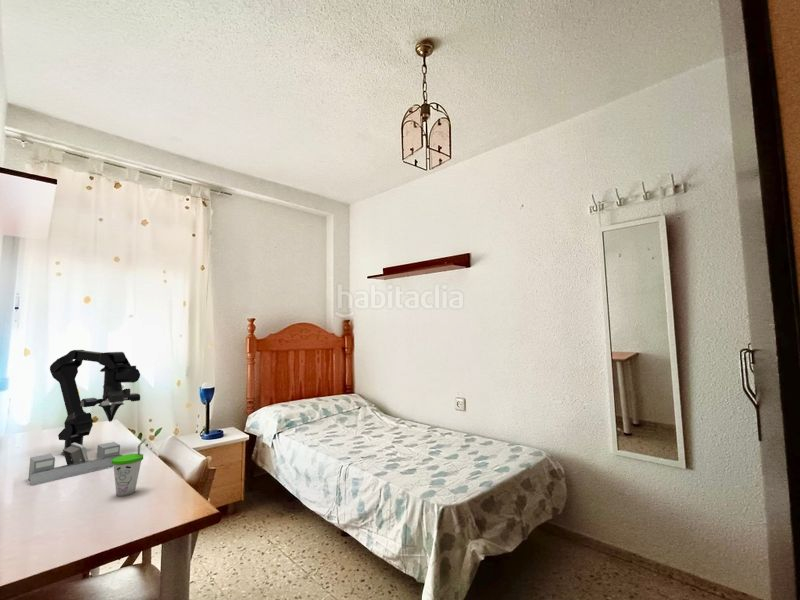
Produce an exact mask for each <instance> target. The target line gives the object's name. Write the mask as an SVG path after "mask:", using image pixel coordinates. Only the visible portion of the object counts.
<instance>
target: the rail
mask: <svg viewBox="0 0 800 600" xmlns="http://www.w3.org/2000/svg"><path fill="white" fill-rule="evenodd" d="M119 456H123V454H121V453H120V454H119V455H115V456H110V457H106V458H98V459H97V458H93V459H88V460H89V461H84V462H79V463H74V464H69V465H67V464H65V465H60V466H56V467H55V466H54V468H53V469H48V470H44V471H39V472H34V473H33V472H31V474H30V475H31V481H29V482H30V483H29V484H30V486H34V485H35V484H36V485H40V484H44V483H48V482H54V481H57V480H61V479H66V478H70V477H71V478H72V477H74V476H79V475H82V474H87V473H91V472H96V471H101V470H105V468H106V469H109V468H108V467H110V468H114V467H113V466H114V465H113V464H112V459H114V458H116V457H119ZM36 485H35V486H36Z"/></svg>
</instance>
